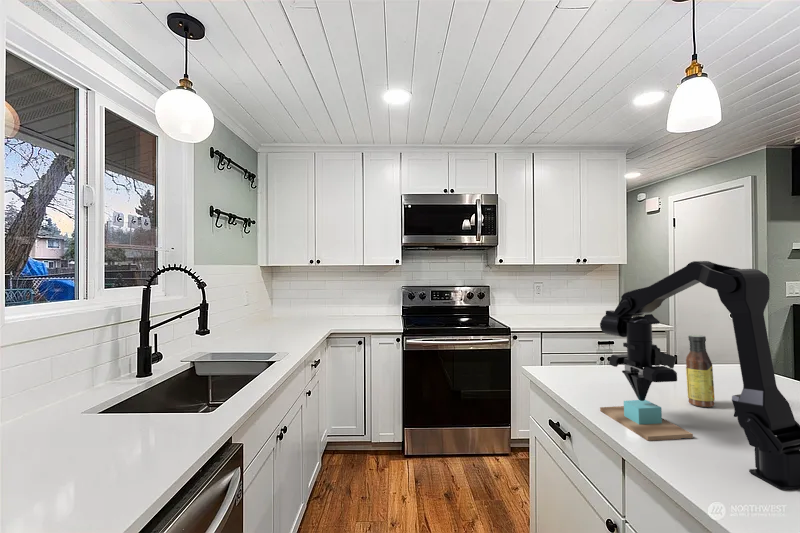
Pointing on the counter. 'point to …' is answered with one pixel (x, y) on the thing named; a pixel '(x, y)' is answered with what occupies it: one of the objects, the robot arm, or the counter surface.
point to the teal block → (642, 412)
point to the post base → (647, 426)
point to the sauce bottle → (699, 373)
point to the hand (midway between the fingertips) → (641, 400)
